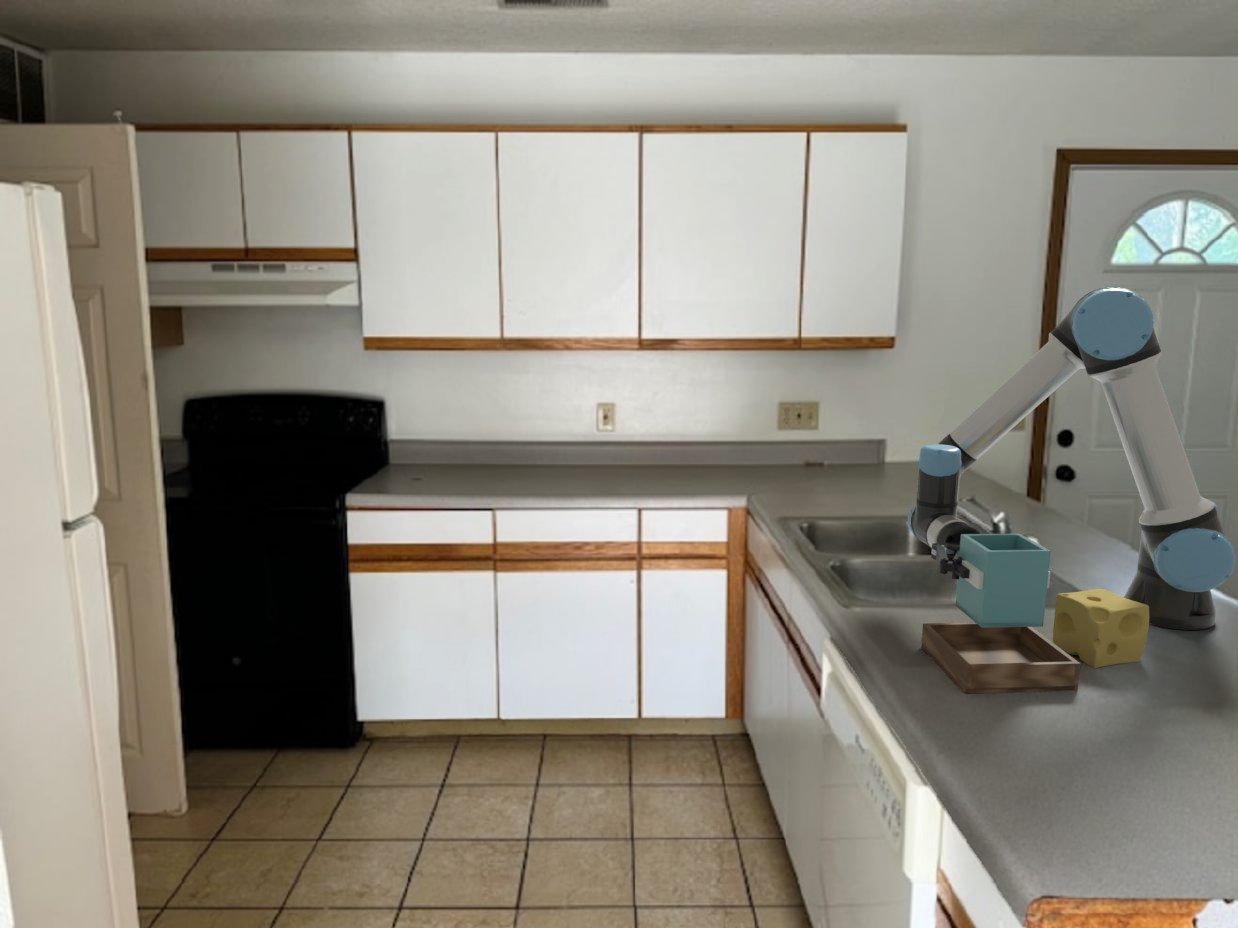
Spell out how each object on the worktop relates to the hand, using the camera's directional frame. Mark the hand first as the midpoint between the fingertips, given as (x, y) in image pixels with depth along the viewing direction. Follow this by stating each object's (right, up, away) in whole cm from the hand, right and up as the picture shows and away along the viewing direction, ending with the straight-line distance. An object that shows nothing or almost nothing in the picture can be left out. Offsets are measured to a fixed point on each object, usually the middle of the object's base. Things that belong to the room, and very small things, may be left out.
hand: (1014, 580), depth 141 cm
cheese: (+20, -14, +13) cm, 28 cm away
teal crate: (0, -6, +6) cm, 9 cm away
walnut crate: (0, -15, +7) cm, 17 cm away
